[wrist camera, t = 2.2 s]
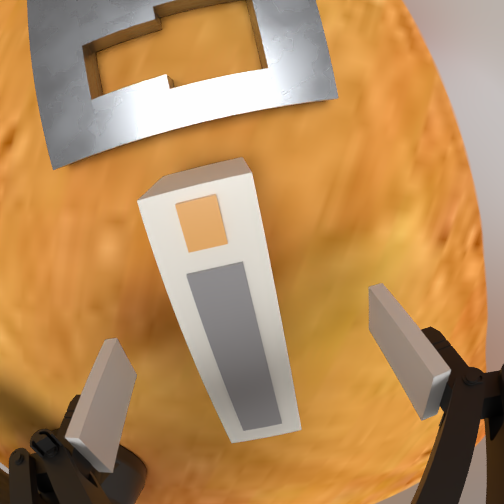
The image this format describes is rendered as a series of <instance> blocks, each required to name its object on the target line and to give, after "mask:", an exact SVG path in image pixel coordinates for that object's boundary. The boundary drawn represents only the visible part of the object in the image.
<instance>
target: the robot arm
mask: <svg viewBox="0 0 504 504" xmlns="http://www.w3.org/2000/svg"><path fill="white" fill-rule="evenodd" d="M369 330H370V332H371V334H372V335H373V337H374V339H375V340H376V342H377V344H378V345H379V347H380V349H381V350H382V352H383V354H384V356H385V357H386V359H387V361H388V362H389V364H390V366H391V367H392V369H393V371H394V373H395V374H396V376H397V378H398V380H399V381H400V383H401V385H402V387H403V388H404V390H405V392H406V394H407V395H408V397H409V399H410V401H411V403H412V404H413V406H414V408H415V410H416V412H417V414H418V415H419V417H420V419H421V421H422V420H424V419H427V418H429V417H431V416H434V415H436V414H437V413H438V410H439V407H441V408H442V410H443V411H444V414H443V416H442V419H441V422H440V424H439V426H440V427H439V430H438V433H437V436H436V440H435V443H434V446H433V449H432V452H431V454H430V457H429V460H428V463H427V465H426V468H425V471H424V473H423V476H422V478H421V481H420V483H419V486H418V489H417V491H416V493H415V495H414V497H413V500H412V502H411V504H458V502H459V499H460V497H461V493H462V490H463V487H464V484H465V481H466V477H467V474H468V471H469V467H470V463H471V459H472V455H473V451H474V447H475V443H476V438H477V434H478V429H479V424H480V419H484V421H485V434H486V454H487V492H486V493H487V494H486V504H504V364H503V366H502V368H501V370H499V371H494V372H488V373H483V372H482V371H481V370H479V369H478V368H474V367H469V366H468V365H467V364H466V363H465V362H464V360H463V359H462V358H461V357H460V355H459V354H458V353H457V352H456V350H455V349H454V348H453V347H452V346H451V344H450V343H449V342H448V341H447V340H446V338H445V337H444V336H443V335H442V333H441V332H440V331H438V330H436V329H434V328H433V327H428V328H425V329H422V330H420V329H419V327H418V326H417V325H416V323H415V322H414V321H413V320H412V318H411V317H410V316H409V315H408V314H407V312H406V311H405V310H404V309H403V307H402V306H401V305H400V304H399V303H398V301H397V300H396V299H395V298H394V296H393V295H392V294H391V293H390V292H389V291H388V289H387V288H386V287H385V286H384V285H383V283H381V284H377V285H373V286H370V287H369ZM136 377H137V374H136V372H135V371H134V369H133V367H132V365H131V363H130V362H129V360H128V358H127V356H126V354H125V352H124V350H123V348H122V347H121V345H120V343H119V341H118V339H117V338H113V339H106V340H105V341H104V343H103V345H102V347H101V349H100V352H99V354H98V356H97V358H96V361H95V363H94V365H93V368H92V370H91V372H90V374H89V377H88V379H87V382H86V384H85V386H84V389H83V391H82V394H81V395H76V396H75V397H74V398H73V400H72V401H71V402H70V404H69V406H68V409H67V412H66V414H65V416H64V417H65V418H64V419H63V421H62V424H61V426H60V429H57V430H54V431H50V430H48V429H41V430H38V431H37V432H36V433H34V435H33V436H32V437H31V440H30V447H31V448H32V449H33V450H34V451H35V452H36V453H33V454H30V453H29V452H28V451H27V450H26V449H24V448H18V449H16V450H15V451H14V452H13V453H12V454H11V456H10V458H9V474H7V473H6V472H4V471H3V470H2V469H0V504H135V502H136V500H137V499H138V497H139V495H140V493H141V491H142V490H143V488H144V486H145V480H146V468H145V466H144V464H143V463H142V462H141V460H140V459H139V458H137V457H136V456H135V455H134V454H132V453H131V452H130V451H128V450H127V449H125V448H123V447H121V446H120V445H119V443H120V438H121V434H122V430H123V426H124V422H125V418H126V414H127V410H128V406H129V403H130V399H131V395H132V391H133V388H134V384H135V380H136Z"/></svg>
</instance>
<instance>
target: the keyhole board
mask: <svg viewBox="0 0 504 504" xmlns="http://www.w3.org/2000/svg"><path fill="white" fill-rule="evenodd" d="M233 1H240V0H27V7H28V27H29V40H30V51H31V60H32V68H33V75H34V82H35V89H36V95H37V100H38V106H39V111H40V116H41V121H42V126H43V131H44V135H45V140H46V144H47V148H48V152H49V156H50V160H51V164H52V167H53V170H55V169H58V168H61V167H64V166H67V165H69V164H72V163H75V162H77V161H80V160H82V159H85V158H88V157H91V156H93V155H96V154H99V153H102V152H105V151H107V150H110V149H113V148H116V147H119V146H122V145H125V144H129V143H132V142H135V141H138V140H141V139H145V138H148V137H151V136H155V135H158V134H162V133H165V132H169V131H172V130H176V129H180V128H184V127H188V126H191V125H195V124H200V123H204V122H208V121H212V120H217V119H221V118H226V117H230V116H235V115H240V114H245V113H250V112H255V111H260V110H266V109H272V108H278V107H284V106H290V105H297V104H304V103H311V102H319V101H327V100H332V99H338V93H337V88H336V83H335V78H334V73H333V69H332V64H331V60H330V55H329V51H328V47H327V42H326V38H325V34H324V30H323V26H322V22H321V19H320V15H319V11H318V7H317V4H316V0H246V3H247V7H248V11H249V15H250V19H251V23H252V28H253V32H254V36H255V40H256V44H257V49H258V53H259V57H260V62H261V66H262V69H261V70H255V71H249V72H243V73H238V74H233V75H228V76H223V77H218V78H213V79H209V80H205V81H200V82H196V83H192V84H188V85H184V86H180V87H177V88H174V84H173V80H172V79H171V78H170V77H169V76H168V75H163V76H159V77H156V78H153V79H149V80H146V81H143V82H140V83H137V84H134V85H131V86H128V87H125V88H122V89H119V90H116V91H113V92H111V93H108V94H105V95H103V91H102V86H101V81H100V75H99V70H98V65H97V59H96V53H95V52H98V51H100V50H103V49H105V48H108V47H111V46H113V45H116V44H119V43H122V42H124V41H127V40H130V39H133V38H136V37H139V36H142V35H145V34H149V33H152V32H155V31H159V30H162V27H161V22H160V18H161V17H165V16H168V15H172V14H176V13H180V12H184V11H188V10H192V9H197V8H201V7H206V6H211V5H216V4H222V3H227V2H233Z"/></svg>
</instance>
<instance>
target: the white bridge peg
mask: <svg viewBox="0 0 504 504" xmlns="http://www.w3.org/2000/svg"><path fill="white" fill-rule="evenodd" d="M137 202H138V206H139V209H140V212H141V216H142V219H143V222H144V225H145V229H146V232H147V235H148V238H149V241H150V244H151V247H152V250H153V253H154V256H155V259H156V262H157V265H158V268H159V271H160V274H161V277H162V279H163V282H164V285H165V288H166V291H167V293H168V296H169V299H170V301H171V304H172V307H173V309H174V312H175V315H176V317H177V320H178V322H179V325H180V328H181V330H182V333H183V335H184V338H185V340H186V343H187V345H188V348H189V350H190V352H191V355H192V357H193V360H194V362H195V364H196V367H197V369H198V371H199V374H200V376H201V378H202V381H203V383H204V385H205V387H206V390H207V392H208V394H209V396H210V399H211V401H212V403H213V405H214V407H215V409H216V412H217V414H218V416H219V418H220V420H221V422H222V424H223V426H224V428H225V431H226V433H227V435H228V437H229V439H230V441H231V443H236V442H243V441H249V440H255V439H260V438H266V437H271V436H276V435H281V434H285V433H290V432H294V431H299V430H302V429H301V423H300V418H299V412H298V407H297V401H296V396H295V390H294V385H293V379H292V374H291V368H290V363H289V357H288V352H287V347H286V341H285V336H284V331H283V326H282V320H281V315H280V310H279V305H278V300H277V294H276V289H275V284H274V279H273V274H272V269H271V264H270V259H269V254H268V249H267V244H266V239H265V234H264V229H263V224H262V219H261V214H260V209H259V204H258V199H257V194H256V189H255V185H254V180H253V175H252V172H251V170H250V168H249V167H248V165H247V164H246V162H245V160H244V159H243V157H240V158H236V159H231V160H227V161H222V162H218V163H214V164H209V165H205V166H201V167H197V168H193V169H189V170H185V171H181V172H177V173H174V174H170V175H166V176H163V177H162V178H161V179H160V180H159V181H157V182H156V183H155V184H154V185H153V186H152V187H151V188H150V189H149V190H148V191H147V192H146V193H145V194H144V195H142V196H141V197H140V198H139V199H138V200H137Z"/></svg>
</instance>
